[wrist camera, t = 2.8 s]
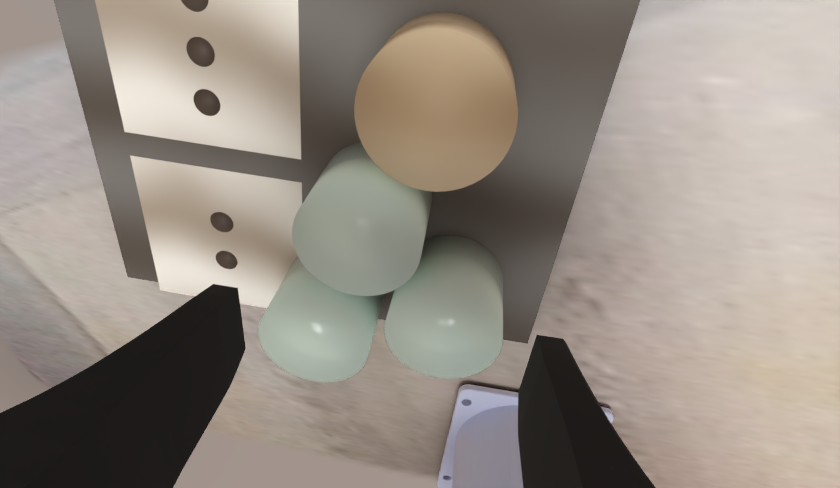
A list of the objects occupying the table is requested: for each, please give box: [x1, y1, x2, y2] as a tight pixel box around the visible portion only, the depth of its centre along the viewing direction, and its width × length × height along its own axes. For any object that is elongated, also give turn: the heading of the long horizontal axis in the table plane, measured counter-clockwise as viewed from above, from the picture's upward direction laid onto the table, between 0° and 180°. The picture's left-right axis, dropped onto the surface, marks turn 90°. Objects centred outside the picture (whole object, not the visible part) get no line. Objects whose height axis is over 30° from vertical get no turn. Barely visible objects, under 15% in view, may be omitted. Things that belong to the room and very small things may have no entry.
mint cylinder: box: [292, 143, 432, 296], centre depth 18 cm, size 4×4×4 cm
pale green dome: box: [384, 235, 503, 379], centre depth 20 cm, size 4×4×4 cm
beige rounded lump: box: [354, 12, 518, 192], centre depth 16 cm, size 5×5×3 cm
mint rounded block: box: [258, 257, 384, 382], centre depth 21 cm, size 4×4×4 cm
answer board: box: [54, 0, 640, 343], centre depth 20 cm, size 16×19×1 cm
